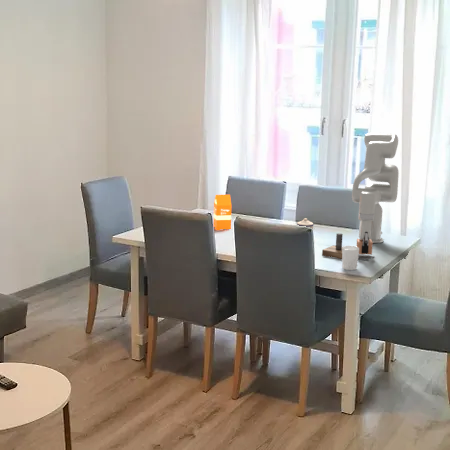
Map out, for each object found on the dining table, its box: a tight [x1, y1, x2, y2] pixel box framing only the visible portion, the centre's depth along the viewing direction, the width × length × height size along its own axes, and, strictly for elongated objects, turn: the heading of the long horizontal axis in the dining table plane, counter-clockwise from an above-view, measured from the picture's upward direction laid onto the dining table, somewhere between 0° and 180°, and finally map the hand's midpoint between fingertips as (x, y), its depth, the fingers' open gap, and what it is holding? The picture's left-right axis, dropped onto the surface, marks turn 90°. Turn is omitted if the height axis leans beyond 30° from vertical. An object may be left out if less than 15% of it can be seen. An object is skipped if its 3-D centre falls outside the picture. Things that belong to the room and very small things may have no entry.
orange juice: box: [213, 194, 232, 231], centre depth 401 cm, size 8×9×20 cm
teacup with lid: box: [296, 217, 314, 230], centre depth 382 cm, size 12×9×12 cm
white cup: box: [341, 245, 359, 271], centre depth 326 cm, size 8×8×10 cm
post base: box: [321, 233, 343, 260], centre depth 349 cm, size 12×12×11 cm
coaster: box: [358, 254, 375, 261], centre depth 346 cm, size 8×8×1 cm
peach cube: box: [356, 238, 374, 256], centre depth 345 cm, size 7×7×7 cm
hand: (364, 251), depth 346 cm, fingers closed on peach cube, 7 cm apart
